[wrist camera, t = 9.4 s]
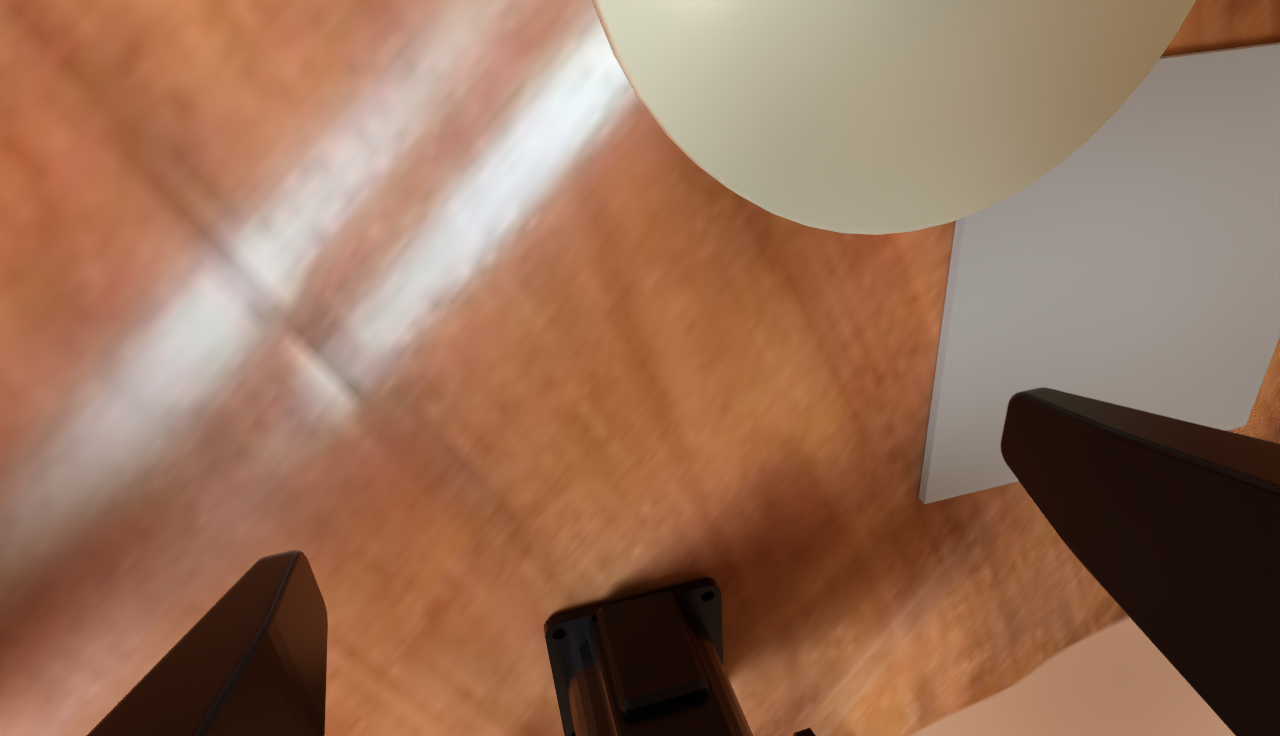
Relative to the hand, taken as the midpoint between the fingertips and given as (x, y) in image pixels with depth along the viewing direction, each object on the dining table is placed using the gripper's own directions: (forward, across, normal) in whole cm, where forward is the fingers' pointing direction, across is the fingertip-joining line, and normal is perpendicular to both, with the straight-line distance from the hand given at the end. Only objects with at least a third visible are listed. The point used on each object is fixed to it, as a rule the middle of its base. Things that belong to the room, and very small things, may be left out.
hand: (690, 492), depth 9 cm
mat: (+12, -20, +5) cm, 24 cm away
